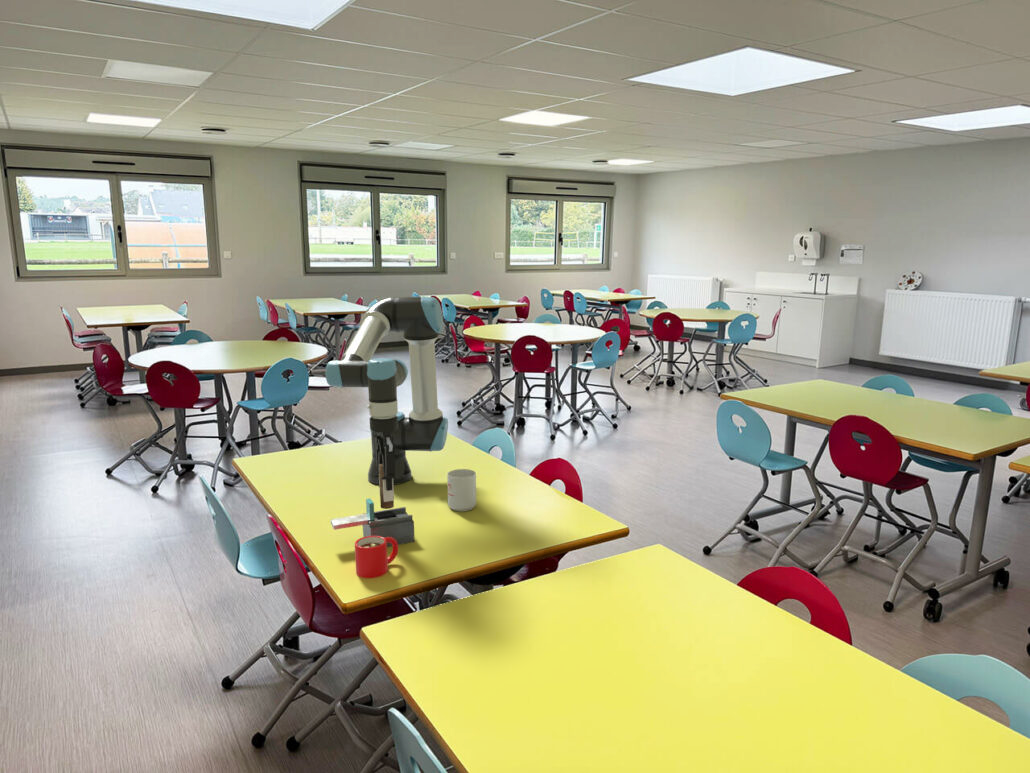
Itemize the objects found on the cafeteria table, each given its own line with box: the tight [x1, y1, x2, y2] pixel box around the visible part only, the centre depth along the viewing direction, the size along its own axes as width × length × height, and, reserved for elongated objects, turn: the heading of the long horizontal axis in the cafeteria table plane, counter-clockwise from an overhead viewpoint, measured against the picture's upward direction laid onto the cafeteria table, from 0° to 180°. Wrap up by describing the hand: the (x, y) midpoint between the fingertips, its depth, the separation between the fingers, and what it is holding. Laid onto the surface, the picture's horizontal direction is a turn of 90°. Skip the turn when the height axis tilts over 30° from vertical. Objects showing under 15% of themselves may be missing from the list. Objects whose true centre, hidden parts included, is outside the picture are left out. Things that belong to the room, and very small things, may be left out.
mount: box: [362, 506, 415, 548], centre depth 195 cm, size 10×12×7 cm
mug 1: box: [354, 536, 399, 579], centre depth 177 cm, size 8×12×8 cm, turn 138°
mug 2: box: [446, 468, 477, 512], centre depth 220 cm, size 12×9×11 cm
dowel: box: [379, 463, 395, 510], centre depth 193 cm, size 4×4×12 cm
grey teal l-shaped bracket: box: [330, 498, 375, 531], centre depth 190 cm, size 5×11×6 cm, turn 115°
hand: (386, 498), depth 193 cm, fingers closed on dowel, 3 cm apart
